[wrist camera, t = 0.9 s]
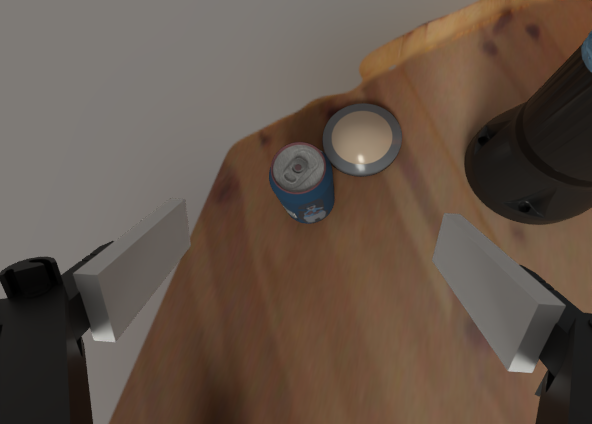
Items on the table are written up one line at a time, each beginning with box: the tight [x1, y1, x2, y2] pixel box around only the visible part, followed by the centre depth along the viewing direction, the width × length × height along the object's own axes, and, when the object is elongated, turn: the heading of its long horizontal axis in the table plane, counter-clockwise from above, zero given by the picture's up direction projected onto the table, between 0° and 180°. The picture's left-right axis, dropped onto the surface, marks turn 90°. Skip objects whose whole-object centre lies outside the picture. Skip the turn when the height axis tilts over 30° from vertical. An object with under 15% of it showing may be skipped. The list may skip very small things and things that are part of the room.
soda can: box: [269, 142, 334, 223], centre depth 36 cm, size 7×7×12 cm
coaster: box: [323, 104, 402, 177], centre depth 42 cm, size 11×11×1 cm
